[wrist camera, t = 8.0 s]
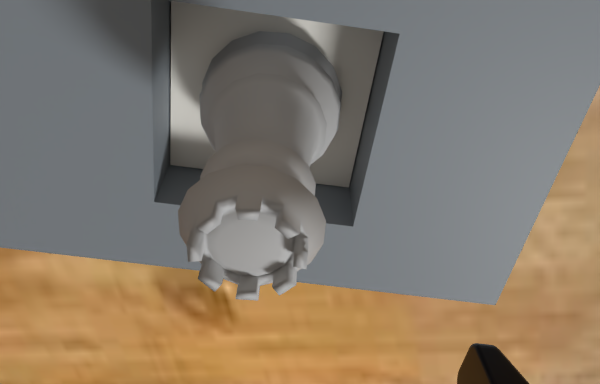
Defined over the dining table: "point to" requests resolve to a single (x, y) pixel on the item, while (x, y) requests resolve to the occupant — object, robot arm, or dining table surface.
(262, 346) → the dining table surface
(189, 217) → the rook chess piece
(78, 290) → the dining table surface
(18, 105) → the socket board
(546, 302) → the dining table surface
